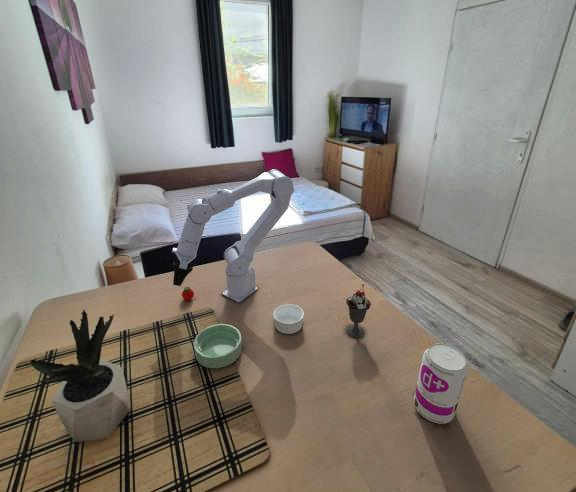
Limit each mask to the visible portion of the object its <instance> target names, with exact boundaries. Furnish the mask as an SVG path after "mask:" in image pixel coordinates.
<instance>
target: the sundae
mask: <svg viewBox="0 0 576 492" xmlns="http://www.w3.org/2000/svg"><path fill="white" fill-rule="evenodd" d="M364 286H365V284H364V283H363V284H361V288H360V290H356V292H354V293H352V295H351V296H350V297H347V298H346V300H345V302H346V303H345V304H346V306H347V307H348V316H349V319H350V321H351V322H352V323H353V324H352V325H349V326H348V327H347V328H346V333H347V335H348V336H350V337H352V338H357V339H358V338H362V337H363V336H364V335H365V331H364V328H363V327H361V326H359V324H361V323H363V322H364V321H365V318H366V315H367V311H368V310H370V308H371V305H372V302H371V301H370V300H369V299H368V297H367V296H366V293H365V291H364V290H365V289H363V288H364ZM361 290H362V291H361Z"/></svg>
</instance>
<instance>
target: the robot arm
mask: <svg viewBox="0 0 576 492" xmlns="http://www.w3.org/2000/svg"><path fill="white" fill-rule="evenodd" d="M257 193H265V194H268V195H269V198H270V203H269V204H268V205H267V207H266V208H265V210H264V211H263V212H262V213H261V214H260V216H259V217H258V218H257V219H256V221H255V222H254V223H253V225H251V227H250V228H249V230H248V231H247V232H246V233H245V235H244V236H243V238H242V239H241V240H237V241H235V242H234V244H232V245H231V246H229V247H228V248H226V249H225V251H224V253H223V259H224V261H225V263H226V268H225V277H226V280H225V281H226V290H224V291H222V292H221V295H223V296H225V297H227V298H229V299H231V300H233V301H235V302H236V303H241V302H242V301H244V300H245V299H246V298H247V297H249V296H250V295H252V294H253V293H254V292H256V291H257V290H258V287H257V285H256V271H255V268H254V267H253V266H252V265H251V263H252V262H253V260H254V254H255V250H257V248H258V247H259V246H260V244H262V242H263V241H264V239H265V238H266V237H267V236H268V234H269V233H270V232H271V230H273V228H274V227H275V225H276V224H277V223H278V222H279V221H280V220H281V218H282V217H283V215H285V213H286V212H287V211H288V209H289V207H290V203H291V199H292V196H293V194H294V193H295V187H294V183H293V180H292V179H291V178H290V177H289V176H286V175H285V174H284V173H282V172H281V171H280V170H278V169H271V170H269V171H267V172H263V173H261V174H260V175H259V176H257V177H255V178H253V179H251V180H249V181H246V182H245V183H242V184H241V185H239V186H237V187H235V188H233V189H231V190H229V189H226V188H224V189H221V188H218V189H216V192H214V193H212V194H210V195H207V196H201V198H200V199H199V198H196V199H193V200H191V201H190V203H188V204H187V212H188V214H187V216H186V220H185V222H184V225H183V227H182V231H181V234H180V238H179V241H178V243H177V244H178V245H177V247H173V248H172V249H171V253H173V254H175V255H176V261H173V262H172V269H173V279H172V281H173V283H172V284H173V286H178V287H181V286H182V284H183V283H184V281H185V279H186V278H187V276H188V275H189V274H190V273H192V272H193V269H194V266H190V265H189V264H190V263H191V262H192V261H194V259H196V257H197V253H198V250H199V246H200V243H201V239H202V237H203V234H204V230H205V226H206V223H208V222H209V221H210V220H211V218H212V217H213V216H215V215H217V214H220V213H222V212H225V211H227V210H229V209H231V208H233V207H234V205H235V203H236V202H237V201H239V200H242V199H244V198H247V197H250V196H253V195H255V194H257Z"/></svg>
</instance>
